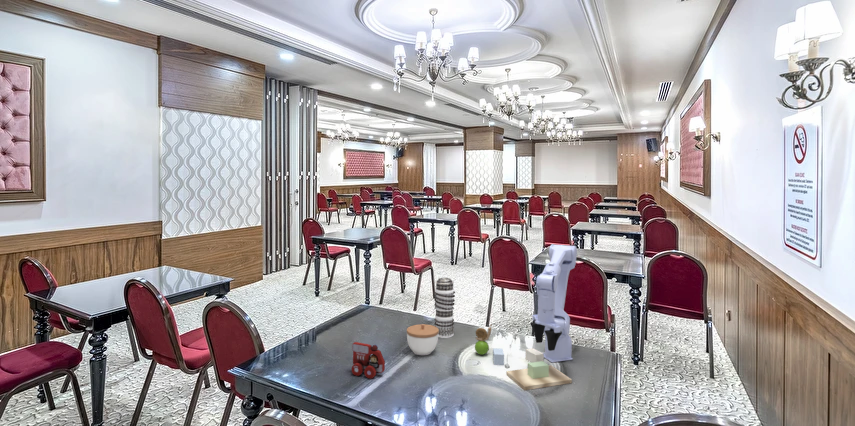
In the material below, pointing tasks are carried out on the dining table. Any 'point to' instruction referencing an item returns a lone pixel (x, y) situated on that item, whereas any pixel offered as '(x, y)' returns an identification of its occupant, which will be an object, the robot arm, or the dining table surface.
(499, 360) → the blue brick
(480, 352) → the snail figurine
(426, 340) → the lidded bowl
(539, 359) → the ivory brick
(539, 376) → the green brick
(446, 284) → the banded tower model
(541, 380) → the birch board
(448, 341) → the dining table surface
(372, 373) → the toy fire truck
